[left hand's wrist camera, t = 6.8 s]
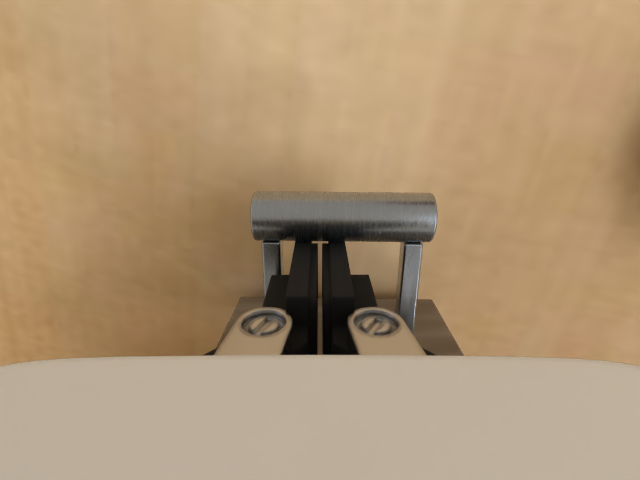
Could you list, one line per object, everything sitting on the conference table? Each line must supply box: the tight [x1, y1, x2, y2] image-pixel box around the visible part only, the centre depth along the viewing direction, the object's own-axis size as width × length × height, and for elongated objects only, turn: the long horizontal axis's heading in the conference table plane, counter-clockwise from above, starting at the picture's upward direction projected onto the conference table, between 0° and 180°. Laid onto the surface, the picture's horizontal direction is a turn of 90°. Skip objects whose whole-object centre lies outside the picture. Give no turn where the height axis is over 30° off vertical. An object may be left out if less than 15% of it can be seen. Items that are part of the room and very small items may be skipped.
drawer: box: [216, 192, 464, 356], centre depth 14 cm, size 22×9×10 cm, turn 0°
